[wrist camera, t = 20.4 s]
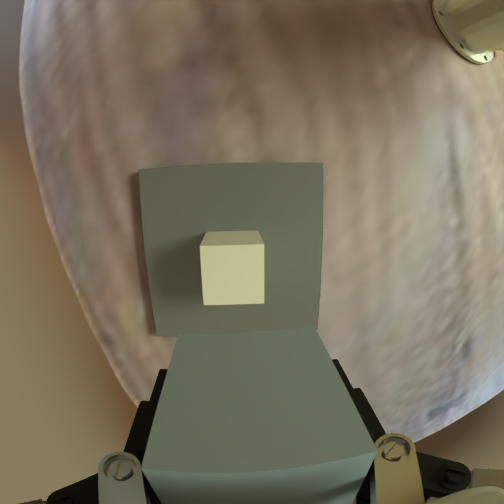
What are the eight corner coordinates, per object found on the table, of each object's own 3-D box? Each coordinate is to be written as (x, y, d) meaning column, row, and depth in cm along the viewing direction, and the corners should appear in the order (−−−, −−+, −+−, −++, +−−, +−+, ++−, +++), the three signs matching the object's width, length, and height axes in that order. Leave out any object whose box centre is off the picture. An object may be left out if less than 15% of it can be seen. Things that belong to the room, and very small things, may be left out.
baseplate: (318, 163, 29) (323, 163, 28) (314, 323, 34) (317, 330, 32) (143, 170, 28) (138, 169, 27) (159, 330, 33) (157, 336, 31)
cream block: (257, 230, 29) (264, 244, 23) (258, 279, 30) (264, 303, 24) (206, 231, 29) (199, 246, 23) (209, 280, 30) (203, 305, 24)
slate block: (314, 326, 11) (377, 450, 5) (306, 418, 12) (338, 526, 6) (178, 334, 10) (141, 468, 5) (196, 425, 12) (186, 538, 6)
